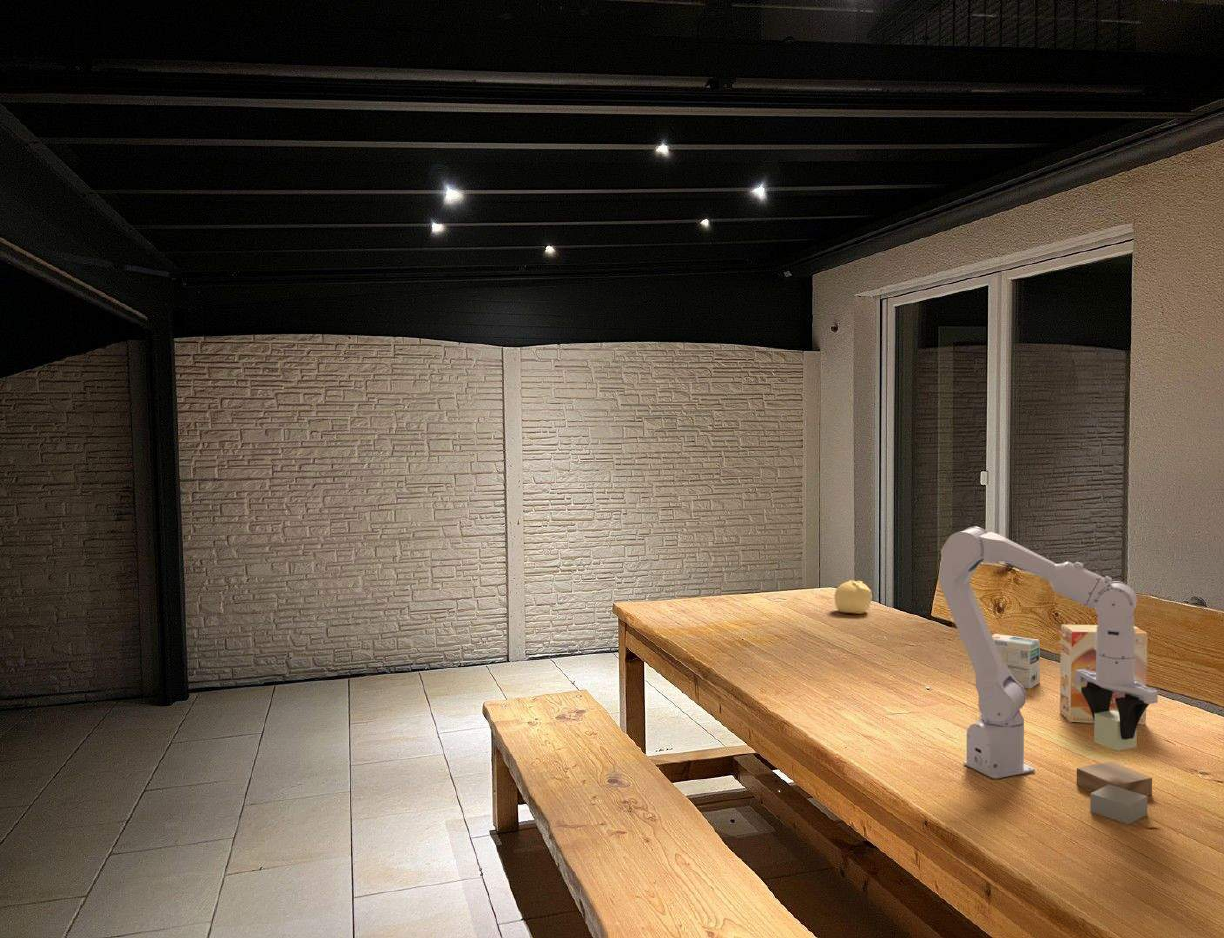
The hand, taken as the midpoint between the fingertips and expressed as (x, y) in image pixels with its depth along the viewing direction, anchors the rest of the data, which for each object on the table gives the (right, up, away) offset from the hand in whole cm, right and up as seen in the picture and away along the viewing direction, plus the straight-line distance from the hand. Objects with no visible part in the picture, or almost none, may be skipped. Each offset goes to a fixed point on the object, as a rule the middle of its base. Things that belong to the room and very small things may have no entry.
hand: (1114, 733), depth 154 cm
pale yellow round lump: (-6, -3, +145) cm, 145 cm away
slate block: (-4, -10, -8) cm, 14 cm away
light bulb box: (+11, -7, +64) cm, 65 cm away
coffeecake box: (+18, -8, +37) cm, 42 cm away
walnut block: (0, -10, +1) cm, 10 cm away
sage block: (0, -2, 0) cm, 2 cm away
